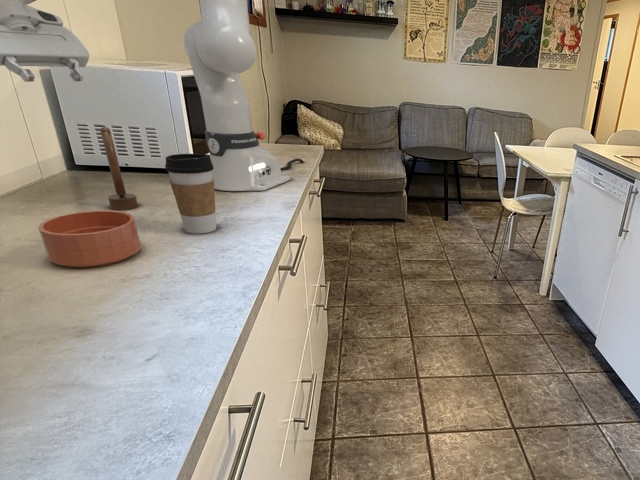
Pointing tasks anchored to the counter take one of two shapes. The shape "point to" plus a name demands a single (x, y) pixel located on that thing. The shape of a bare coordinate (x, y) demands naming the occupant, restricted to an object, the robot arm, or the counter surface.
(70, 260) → the bowl
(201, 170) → the coffee cup
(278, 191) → the counter surface
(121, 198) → the brown pestle
